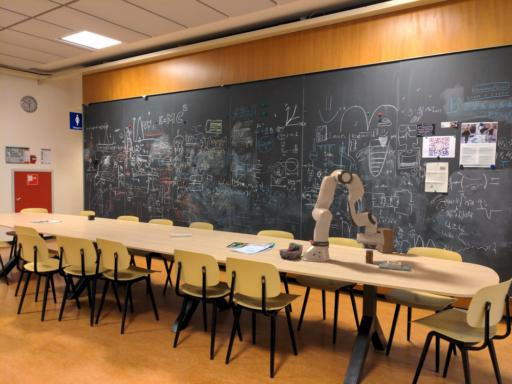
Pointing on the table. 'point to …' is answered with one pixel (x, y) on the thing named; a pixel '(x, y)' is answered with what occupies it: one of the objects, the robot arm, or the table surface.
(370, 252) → the pillar
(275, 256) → the table surface
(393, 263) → the board
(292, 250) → the cell model
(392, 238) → the block
